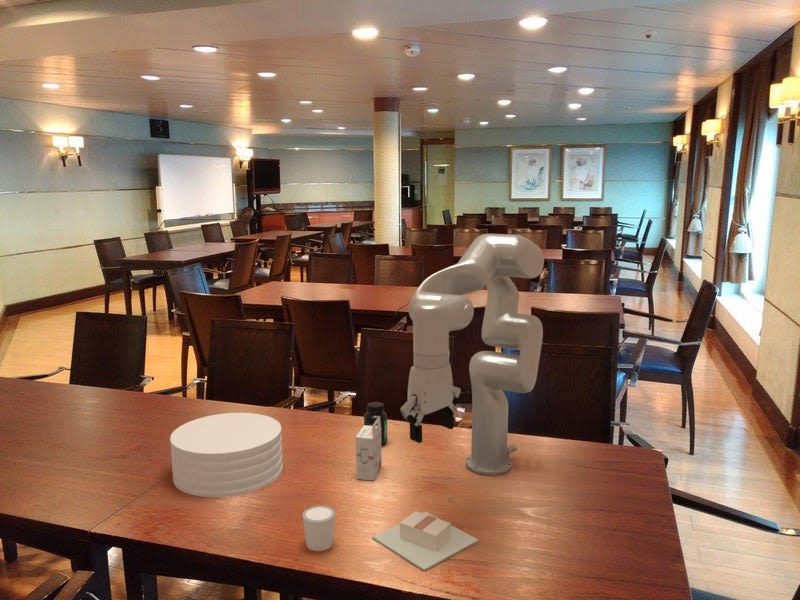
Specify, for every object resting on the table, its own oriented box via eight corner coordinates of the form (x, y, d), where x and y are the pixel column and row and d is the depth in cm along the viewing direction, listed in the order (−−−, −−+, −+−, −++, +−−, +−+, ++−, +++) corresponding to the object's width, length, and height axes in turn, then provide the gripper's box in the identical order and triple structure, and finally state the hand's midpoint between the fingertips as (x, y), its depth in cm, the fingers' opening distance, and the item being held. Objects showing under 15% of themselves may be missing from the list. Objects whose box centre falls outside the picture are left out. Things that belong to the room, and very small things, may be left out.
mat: (425, 513, 148) (425, 511, 148) (478, 541, 136) (478, 539, 136) (372, 538, 137) (372, 536, 137) (424, 571, 126) (424, 569, 125)
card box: (450, 538, 136) (450, 522, 136) (435, 551, 132) (435, 534, 131) (415, 525, 142) (415, 510, 141) (399, 537, 137) (399, 521, 136)
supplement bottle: (391, 444, 187) (391, 405, 185) (372, 450, 183) (371, 410, 181) (379, 437, 193) (379, 399, 190) (359, 442, 189) (359, 403, 187)
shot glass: (304, 535, 138) (303, 505, 137) (336, 534, 139) (335, 504, 138) (302, 553, 132) (301, 522, 131) (335, 552, 132) (334, 520, 131)
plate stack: (304, 471, 170) (302, 430, 168) (209, 509, 150) (206, 463, 148) (244, 442, 189) (242, 405, 187) (153, 473, 169) (150, 432, 167)
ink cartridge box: (364, 465, 173) (363, 413, 170) (381, 467, 172) (381, 415, 169) (355, 479, 165) (354, 425, 162) (374, 481, 164) (373, 427, 161)
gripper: (446, 347, 144) (446, 418, 148) (389, 364, 133) (391, 441, 137) (471, 353, 139) (471, 427, 143) (414, 372, 128) (415, 452, 131)
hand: (432, 434), depth 140 cm, fingers open, 9 cm apart
